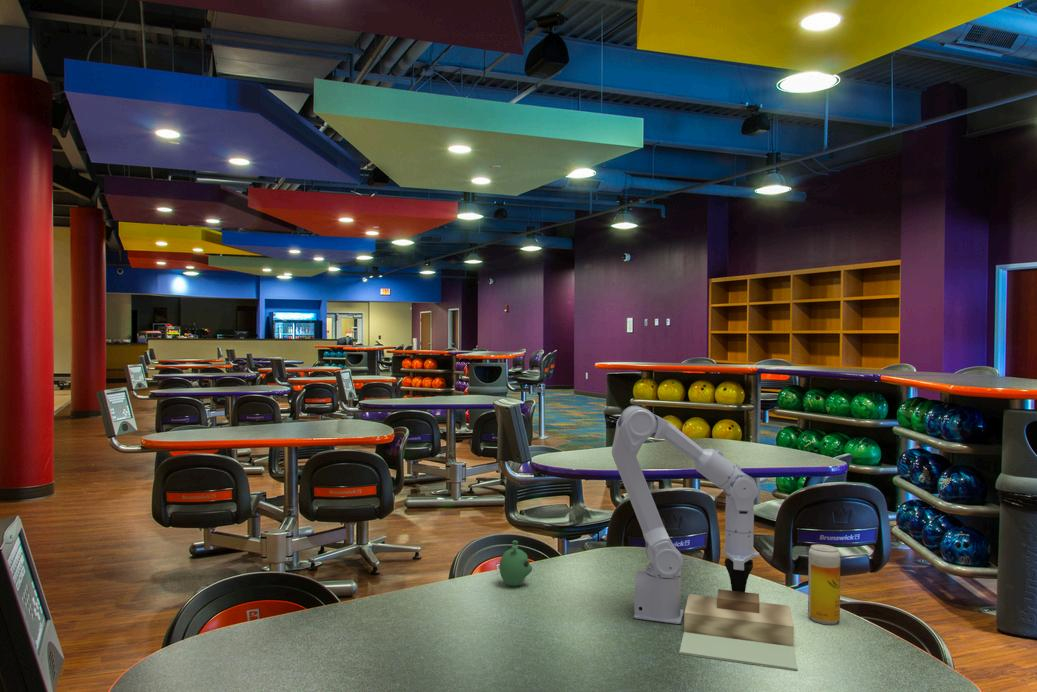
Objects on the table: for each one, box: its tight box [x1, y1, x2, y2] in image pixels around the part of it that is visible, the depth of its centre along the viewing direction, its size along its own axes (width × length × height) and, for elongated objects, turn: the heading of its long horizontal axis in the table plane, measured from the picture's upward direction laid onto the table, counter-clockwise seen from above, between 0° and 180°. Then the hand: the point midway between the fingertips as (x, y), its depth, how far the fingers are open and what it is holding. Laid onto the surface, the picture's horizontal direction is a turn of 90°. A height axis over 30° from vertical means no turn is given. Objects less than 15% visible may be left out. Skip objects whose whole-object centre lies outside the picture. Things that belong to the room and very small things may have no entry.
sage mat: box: [678, 631, 798, 672], centre depth 129 cm, size 20×10×1 cm, turn 72°
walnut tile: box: [716, 589, 760, 613], centre depth 142 cm, size 8×6×2 cm
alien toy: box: [499, 539, 533, 587], centre depth 165 cm, size 7×8×10 cm
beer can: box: [807, 544, 841, 625], centre depth 147 cm, size 6×6×15 cm
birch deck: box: [683, 593, 795, 647], centre depth 140 cm, size 20×12×4 cm, turn 72°
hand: (738, 595), depth 147 cm, fingers closed
